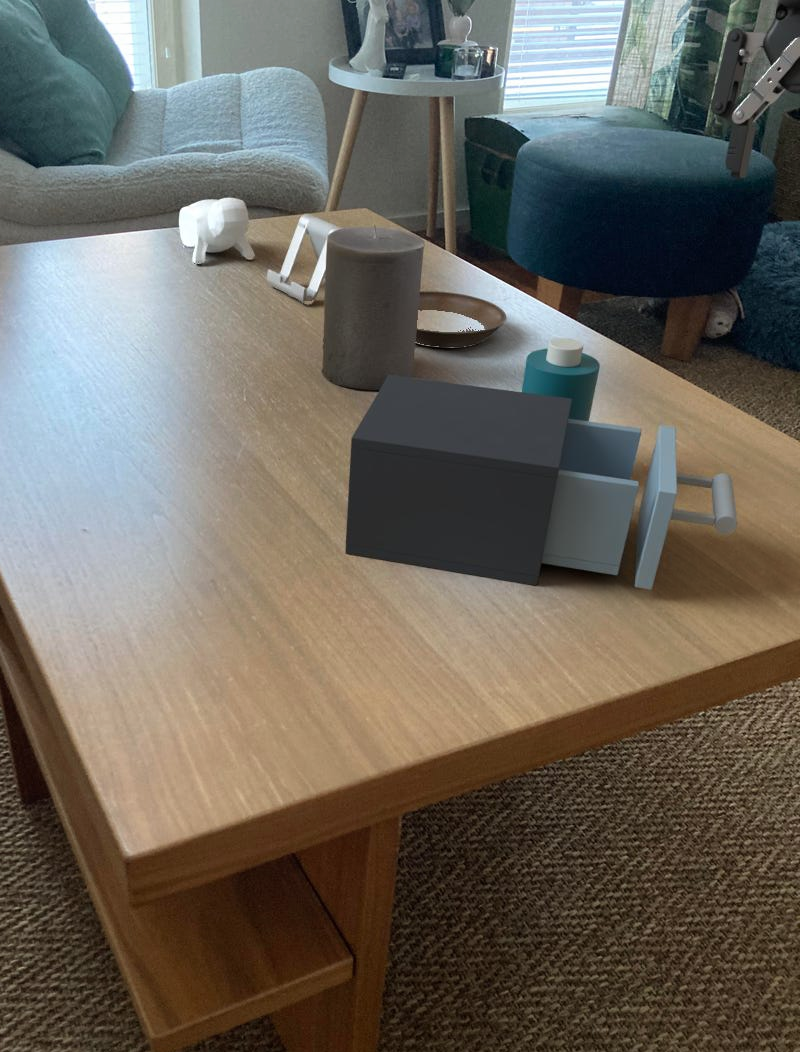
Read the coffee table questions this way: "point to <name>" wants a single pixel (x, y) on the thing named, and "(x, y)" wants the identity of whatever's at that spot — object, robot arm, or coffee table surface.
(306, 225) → the tablet stand
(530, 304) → the coffee table surface
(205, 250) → the white animal figurine
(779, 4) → the robot arm
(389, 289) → the pillar candle
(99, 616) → the coffee table surface
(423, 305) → the saucer
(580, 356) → the detergent bottle
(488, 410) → the drawer casing
